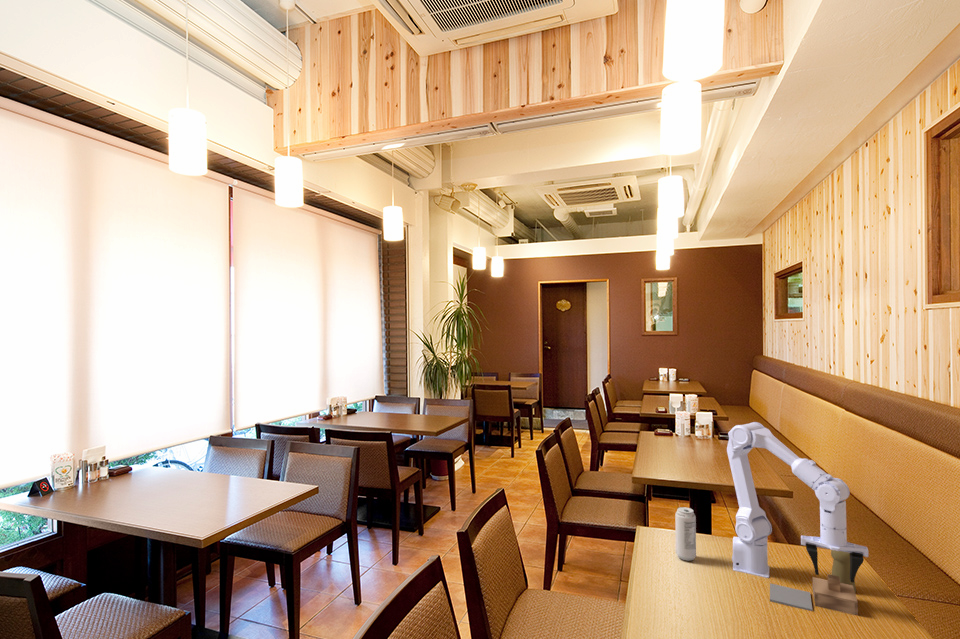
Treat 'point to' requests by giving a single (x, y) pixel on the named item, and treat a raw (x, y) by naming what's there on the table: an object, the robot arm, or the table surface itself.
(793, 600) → the plate
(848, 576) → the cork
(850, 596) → the walnut cover
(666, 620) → the table surface
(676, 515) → the energy drink can
